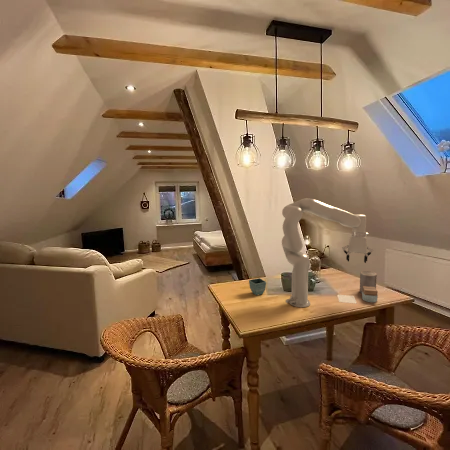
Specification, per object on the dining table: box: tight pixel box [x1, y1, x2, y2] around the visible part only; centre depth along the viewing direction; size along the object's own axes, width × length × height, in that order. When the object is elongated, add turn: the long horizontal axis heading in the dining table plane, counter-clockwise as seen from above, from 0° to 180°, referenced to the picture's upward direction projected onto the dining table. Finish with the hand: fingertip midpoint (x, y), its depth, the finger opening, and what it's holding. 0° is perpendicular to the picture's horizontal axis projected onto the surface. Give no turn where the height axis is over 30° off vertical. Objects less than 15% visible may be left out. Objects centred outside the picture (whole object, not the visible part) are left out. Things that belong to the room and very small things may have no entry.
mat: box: [337, 294, 357, 304], centre depth 177 cm, size 12×10×1 cm
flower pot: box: [248, 277, 267, 296], centre depth 188 cm, size 9×9×9 cm
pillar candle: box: [359, 270, 378, 294], centre depth 185 cm, size 10×10×15 cm
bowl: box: [361, 292, 379, 303], centre depth 174 cm, size 8×8×4 cm
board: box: [363, 286, 378, 296], centre depth 174 cm, size 7×7×3 cm
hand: (356, 261), depth 175 cm, fingers open, 9 cm apart
